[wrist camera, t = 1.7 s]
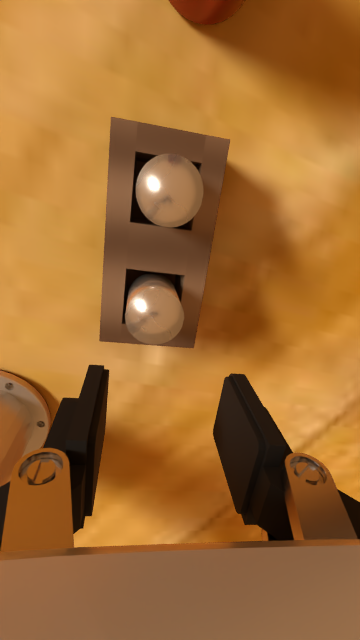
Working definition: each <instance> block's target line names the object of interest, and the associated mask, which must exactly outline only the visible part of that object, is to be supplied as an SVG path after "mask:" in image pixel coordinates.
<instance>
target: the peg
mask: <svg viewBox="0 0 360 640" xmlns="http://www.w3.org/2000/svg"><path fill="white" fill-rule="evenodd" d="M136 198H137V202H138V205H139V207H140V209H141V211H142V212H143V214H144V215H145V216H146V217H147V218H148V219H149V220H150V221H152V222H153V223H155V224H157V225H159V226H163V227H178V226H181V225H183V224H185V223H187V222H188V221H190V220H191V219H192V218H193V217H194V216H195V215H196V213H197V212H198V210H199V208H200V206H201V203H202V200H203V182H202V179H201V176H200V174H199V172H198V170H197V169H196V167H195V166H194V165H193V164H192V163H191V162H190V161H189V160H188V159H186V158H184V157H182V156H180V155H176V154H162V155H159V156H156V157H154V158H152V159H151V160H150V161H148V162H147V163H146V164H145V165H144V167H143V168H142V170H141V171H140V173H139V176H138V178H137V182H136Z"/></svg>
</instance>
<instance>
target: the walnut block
mask: <svg viewBox="0 0 360 640" xmlns="http://www.w3.org/2000/svg"><path fill="white" fill-rule="evenodd" d="M229 144H230V140H229V139H224V138H219V137H214V136H208V135H203V134H198V133H193V132H188V131H182V130H177V129H172V128H167V127H162V126H156V125H151V124H146V123H141V122H136V121H130V120H125V119H120V118H115V117H111V129H110V148H109V167H108V186H107V205H106V224H105V244H104V263H103V282H102V301H101V320H100V339H99V341H104V342H117V343H131V344H144V345H152V344H146V343H143V342H141V341H139V340H137V339H136V338H135V337H134V336H132V334H131V333H130V332H129V330H128V328H127V326H126V321H125V314H126V306H127V299H128V292H129V288H130V286H131V284H132V283H133V281H134V280H135V279H136V278H138V277H139V276H141V275H143V274H146V273H158V274H162V275H164V276H165V277H167V278H168V279H169V280H170V281H171V282H172V283H173V285H174V287H175V290H176V292H177V295H178V297H179V300H180V303H181V305H182V308H183V312H184V322H183V325H182V328H181V330H180V331H179V333H178V334H177V335H176V336H175V337H174V338H173V339H171V340H170V341H168V342H165V343H162V344H156V345H157V346H171V347H184V348H194V343H195V338H196V332H197V326H198V321H199V315H200V309H201V303H202V298H203V292H204V286H205V281H206V275H207V269H208V264H209V258H210V252H211V246H212V241H213V235H214V229H215V224H216V218H217V212H218V206H219V201H220V195H221V189H222V184H223V178H224V172H225V166H226V161H227V155H228V149H229ZM162 154H176V155H180V156H182V157H184V158H186V159H188V160H189V161H190V162H191V163H192V164H193V165H194V166H195V167H196V169H197V170H198V172H199V174H200V176H201V179H202V182H203V200H202V203H201V206H200V208H199V210H198V212H197V213H196V215H195V216H194V217H193V218H192V219H191V220H190V221H188V222H187V223H185V224H183V225H181V226H178V227H163V226H159V225H157V224H155V223H153V222H152V221H150V220H149V219H148V218H147V217H146V216H145V215H144V214H143V212H142V211H141V209H140V207H139V205H138V202H137V198H136V182H137V178H138V176H139V173H140V171H141V170H142V168H143V167H144V165H145V164H146V163H147V162H148V161H150V160H151V159H152V158H154V157H156V156H159V155H162Z"/></svg>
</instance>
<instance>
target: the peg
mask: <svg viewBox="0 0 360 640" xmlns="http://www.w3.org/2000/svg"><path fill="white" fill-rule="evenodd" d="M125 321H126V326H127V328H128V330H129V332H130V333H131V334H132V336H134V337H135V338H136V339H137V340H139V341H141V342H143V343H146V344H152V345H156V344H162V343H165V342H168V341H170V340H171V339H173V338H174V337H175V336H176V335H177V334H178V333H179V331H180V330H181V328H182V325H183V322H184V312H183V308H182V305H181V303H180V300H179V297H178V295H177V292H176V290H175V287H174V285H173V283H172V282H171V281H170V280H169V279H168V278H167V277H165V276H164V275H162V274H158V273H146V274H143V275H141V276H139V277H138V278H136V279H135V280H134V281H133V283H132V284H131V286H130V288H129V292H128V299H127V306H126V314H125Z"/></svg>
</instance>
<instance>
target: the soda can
mask: <svg viewBox="0 0 360 640" xmlns="http://www.w3.org/2000/svg"><path fill="white" fill-rule="evenodd" d="M244 1H245V0H169V2H170V3H171V5H172V6H173V7H174V8H175V9H176V10H177V11H178V12H179V13H180V14H181V15H182V16H184V17H185V18H186V19H188V20H190V21H193V22H195V23H199V24H204V25H209V24H216V23H219V22H222V21H224V20H226V19H228V18H229V17H231V16H232V15H233V14H234V13H235V12H236V11H237V10H238V9H239V8H240V7H241V6H242V4H243V3H244Z"/></svg>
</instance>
